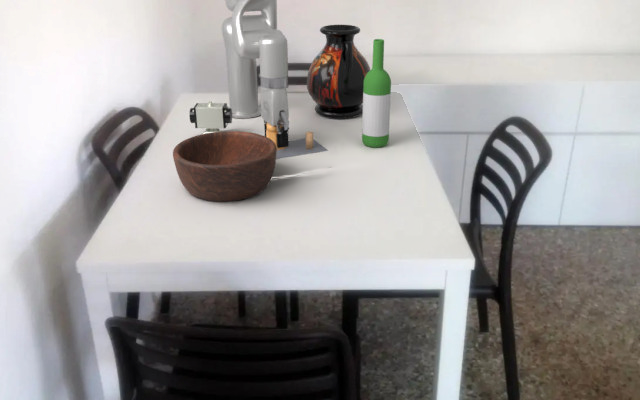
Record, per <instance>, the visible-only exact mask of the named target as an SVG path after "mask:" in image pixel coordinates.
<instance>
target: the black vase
mask: <svg viewBox="0 0 640 400" xmlns="http://www.w3.org/2000/svg"><path fill="white" fill-rule="evenodd" d="M319 32H320V33H321V34H323V35H324V36H325V40H326V43H325V45H324V47H323V48H322V49H321V50H320V51H319V53H318V54H317V55H316V56H315V57H314V59H313V60H312V62H311V64H310V66H309V68H308V73H307V76H306V86H307V87H306V90H307V92H308V94H309V96H310V98H311V99H312V100H313V102H314V103H316V104H315V107H314V111H315V113H316V114H317V115H318V116H321V117H324V118H326V119H327V118H328V119H335V120H338V119H339V120H345V119H346V120H347V119H353V118H356V117H358V116H360V115H363V87H364V78H365V76H366V74H367V73H368V72H369V71H370V70H371V67H370V65H369V62H368V61H367V59H366V57H364V55H363V54H362V52H360V50H359V49H358V48H357V47H356V45H355V43H354V42H355V41H354V38H355V35H358V34H360V33H361V29H360V27H359V26H356V25H351V24H328V25H324V26H321V27H320V29H319Z"/></svg>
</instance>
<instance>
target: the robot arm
mask: <svg viewBox="0 0 640 400" xmlns="http://www.w3.org/2000/svg"><path fill="white" fill-rule="evenodd" d="M224 1H225V4H226V5H225V6H226V7H227V9H228V10H229V11H231V12H232V15H231V16H229V17H227V18H225V19H224V20H223V21H222V23H221V33H222V34H221V35H222V38H223V43H224V48H225V57H226V67H227V70H226V71H227V83H228V84H227V85H228V99H229V103H228V104H229V106H228V108H231V109H232V118H234V119H235V118H236V119H250V118H256V117H259V116H261V118H262V120H263V122H264V136H265V137H266V130H267V123H269V124H270V125H271V126H275V125H276V128H277V131H278V134H277V147H278V148H282V147H288V145H289V144H288V141H289V131H290V130H289V129H290V120H289V101H288V100H289V99H288V92H287V89H289V61H288V60H289V57H288V56H289V55H288V54H289V53H288V51H289V50H288V49H289V48H288V39H287V37H286V36H285V34H284V33H283V32H282V30H279V29H278V2H277V0H224ZM245 12H261V14H246V15H244V14H245ZM257 59H259V73H260V78H259V79H260V89H261V91H260V93H261V94H260V105H259V96H258V95H259V92H258V67H257ZM278 122H280V123H278ZM280 126H282V127H281V129H280Z"/></svg>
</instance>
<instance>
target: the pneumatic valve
mask: <svg viewBox="0 0 640 400" xmlns="http://www.w3.org/2000/svg"><path fill="white" fill-rule="evenodd" d="M228 107H229V105H228V103H227V102H222V103H221V102H220V103H219V102H213V101H210V100H208V101H207V102H196V104H195V105H194V106H193V107H190V109H189V122H190V123H191V124H193V126H194V127H195V129H205V131H203V133H202V134H206V133H213V132H222V131H221V130H220V129H226V128H227V126H228V125H229V124H232V122H233V117H232V109H231V108H228Z"/></svg>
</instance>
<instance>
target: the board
mask: <svg viewBox="0 0 640 400" xmlns="http://www.w3.org/2000/svg"><path fill="white" fill-rule="evenodd" d="M288 144H289V145H288V147H285V148H284V149H280V150H277V153H276V160H280V159H287V158H292V157H297V156H304V155H310V154H311V155H312V154H316V153H320V152H321V153H323V152H328V151H329V150H328V149H327V148H326V147H325V146H323V145H322V144H321V143H319V142H318V141H317V140H315V139H314V132H313V131H306V132H305V138H298V139H294V140H293V139H291V140H288Z"/></svg>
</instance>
